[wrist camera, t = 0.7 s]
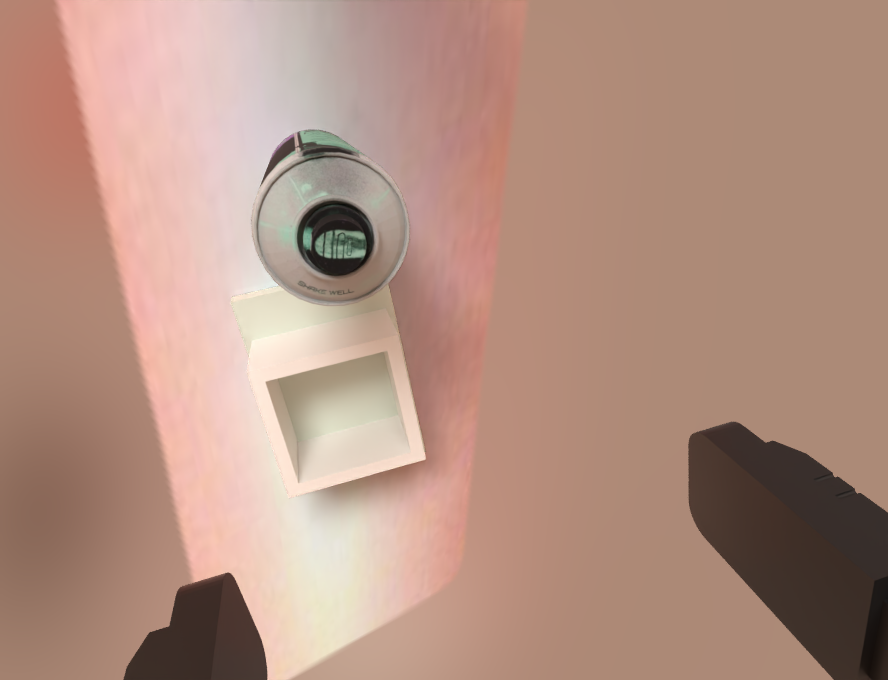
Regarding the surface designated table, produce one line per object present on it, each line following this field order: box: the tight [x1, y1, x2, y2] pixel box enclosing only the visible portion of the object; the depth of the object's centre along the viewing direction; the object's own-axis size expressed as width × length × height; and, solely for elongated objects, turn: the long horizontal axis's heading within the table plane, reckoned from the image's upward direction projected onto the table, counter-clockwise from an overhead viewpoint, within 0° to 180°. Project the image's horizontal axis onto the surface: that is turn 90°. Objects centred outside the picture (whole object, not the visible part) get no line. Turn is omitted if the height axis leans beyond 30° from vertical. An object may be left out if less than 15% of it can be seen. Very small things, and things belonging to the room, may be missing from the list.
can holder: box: [231, 284, 426, 498], centre depth 39 cm, size 14×10×6 cm
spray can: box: [251, 130, 410, 306], centre depth 28 cm, size 6×6×20 cm
